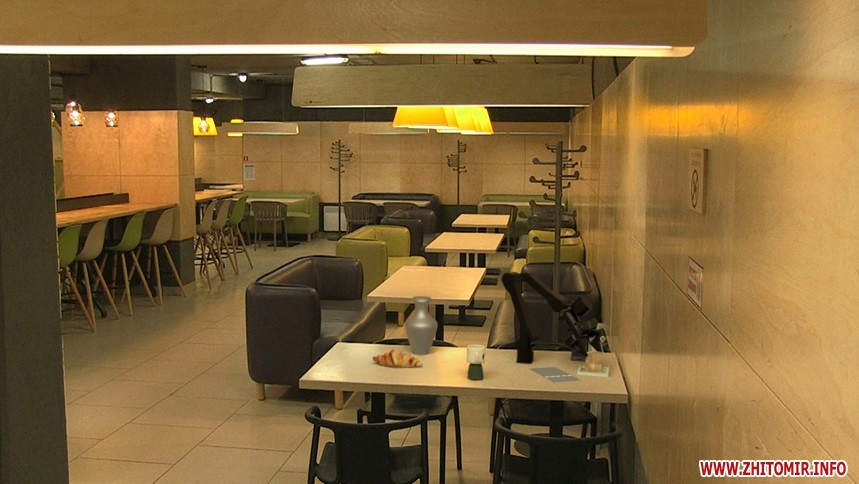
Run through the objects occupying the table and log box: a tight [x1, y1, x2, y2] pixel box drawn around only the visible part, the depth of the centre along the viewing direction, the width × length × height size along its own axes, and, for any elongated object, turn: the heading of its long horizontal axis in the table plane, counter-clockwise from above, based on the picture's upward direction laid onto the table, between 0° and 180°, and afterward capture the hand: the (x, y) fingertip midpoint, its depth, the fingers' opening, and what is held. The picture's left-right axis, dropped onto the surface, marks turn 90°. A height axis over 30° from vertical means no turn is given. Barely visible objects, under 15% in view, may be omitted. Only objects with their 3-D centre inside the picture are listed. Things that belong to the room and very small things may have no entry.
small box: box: [570, 339, 588, 362], centre depth 368 cm, size 11×6×10 cm, turn 168°
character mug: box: [466, 344, 486, 381], centre depth 329 cm, size 11×7×13 cm, turn 1°
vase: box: [404, 295, 438, 356], centre depth 370 cm, size 14×14×25 cm
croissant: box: [372, 349, 423, 369], centre depth 348 cm, size 21×10×8 cm, turn 80°
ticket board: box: [529, 366, 582, 383], centre depth 333 cm, size 22×12×2 cm, turn 19°
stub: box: [585, 350, 603, 373], centre depth 338 cm, size 4×5×9 cm
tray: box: [577, 364, 610, 378], centre depth 338 cm, size 12×12×2 cm
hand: (594, 354), depth 337 cm, fingers open, 9 cm apart
